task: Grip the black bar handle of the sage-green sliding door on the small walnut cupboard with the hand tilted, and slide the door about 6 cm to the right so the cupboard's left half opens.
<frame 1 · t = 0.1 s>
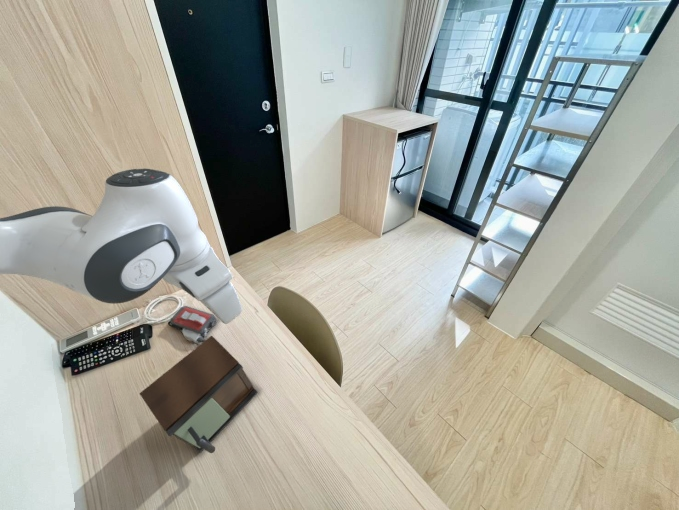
hand: (212, 306, 56), 26 cm above the table, tool pointing down, fingers open, 8 cm apart
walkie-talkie: (202, 329, 81), on the table
cupboard: (216, 402, 66), on the table
door: (210, 430, 55), point 8 cm above the table, slide at 0.0 cm
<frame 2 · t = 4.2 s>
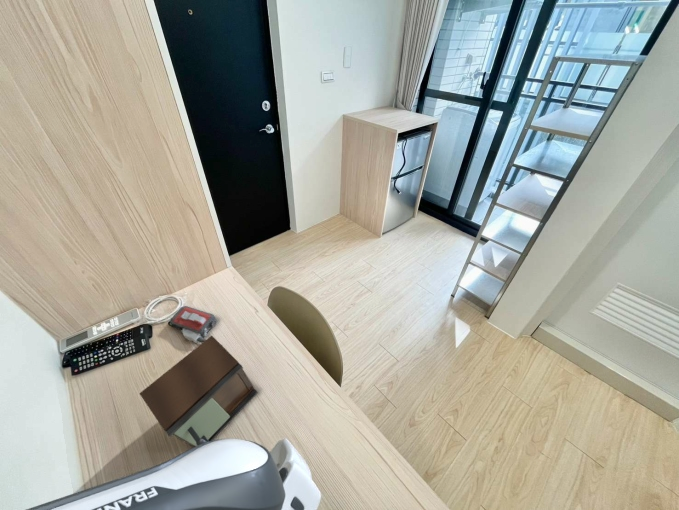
hand: (229, 492, 41), 17 cm above the table, tool tilted 45°, fingers open, 8 cm apart
nothing on the table moved.
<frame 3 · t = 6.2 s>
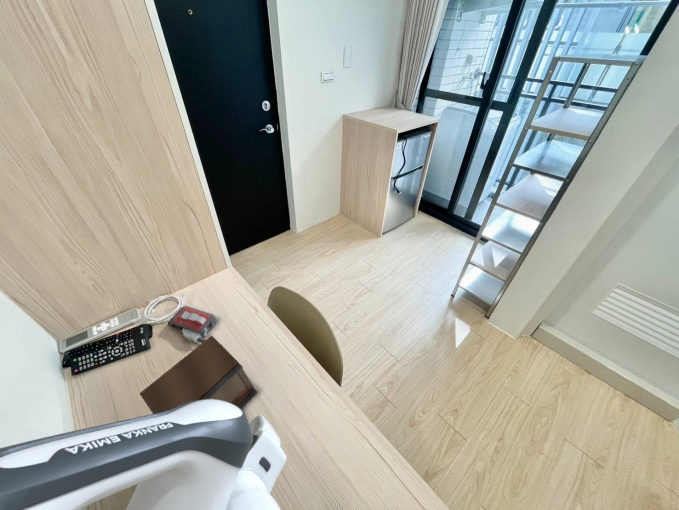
hand: (213, 459, 49), 11 cm above the table, tool tilted 45°, fingers open, 8 cm apart
nothing on the table moved.
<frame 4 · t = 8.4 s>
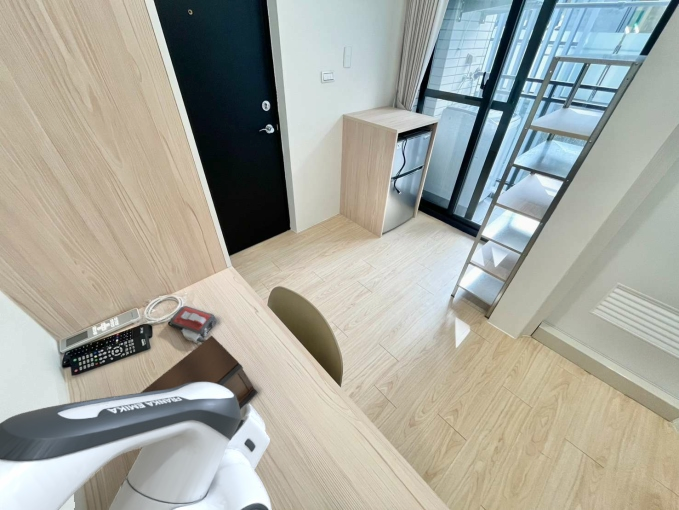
hand: (205, 444, 54), 7 cm above the table, tool tilted 45°, fingers closed on door
door: (210, 430, 55), point 8 cm above the table, slide at 0.0 cm, touching gripper
everything else where it was.
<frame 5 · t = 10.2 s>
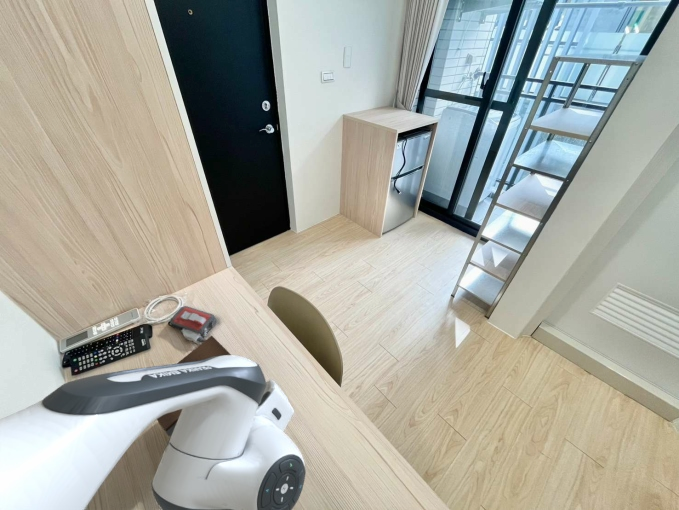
hand: (230, 417, 57), 7 cm above the table, tool tilted 45°, fingers closed on door
door: (234, 405, 58), point 8 cm above the table, slide at 5.9 cm, touching gripper
everything else where it was.
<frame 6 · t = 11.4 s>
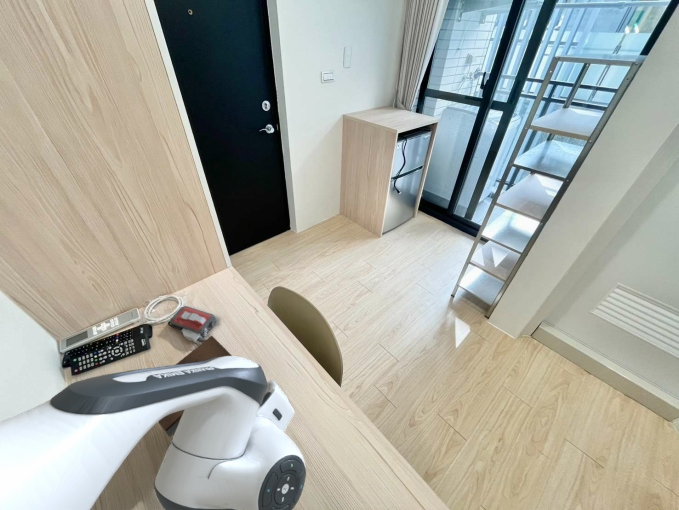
hand: (231, 418, 58), 7 cm above the table, tool tilted 45°, fingers open, 8 cm apart
door: (235, 404, 59), point 8 cm above the table, slide at 6.1 cm
everything else where it was.
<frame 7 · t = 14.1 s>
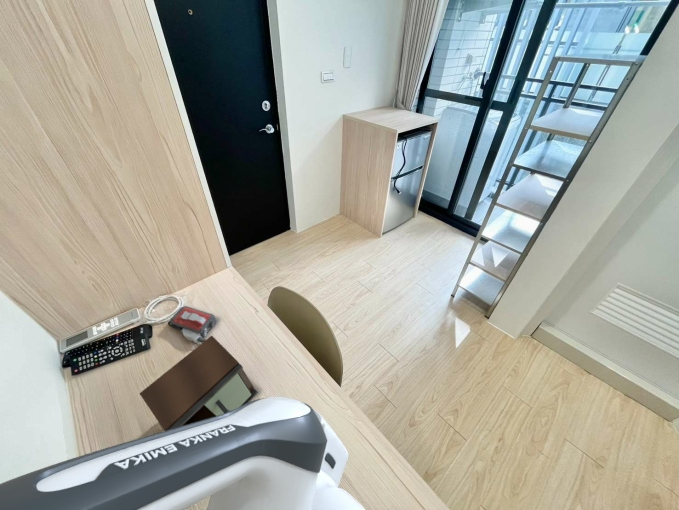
hand: (262, 456, 46), 15 cm above the table, tool tilted 45°, fingers open, 8 cm apart
nothing on the table moved.
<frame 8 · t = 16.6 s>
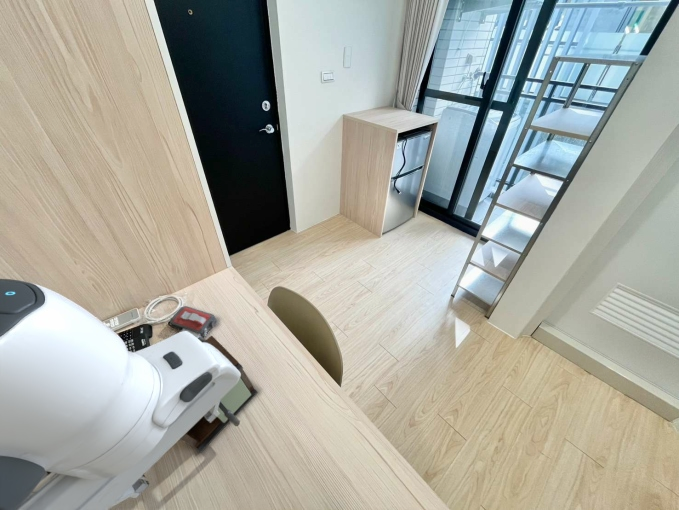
hand: (179, 447, 34), 31 cm above the table, tool pointing down, fingers open, 8 cm apart
nothing on the table moved.
at the end: door slide at 6.1 cm; the gripper is holding nothing; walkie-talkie moved 0.2 cm from its start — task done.
